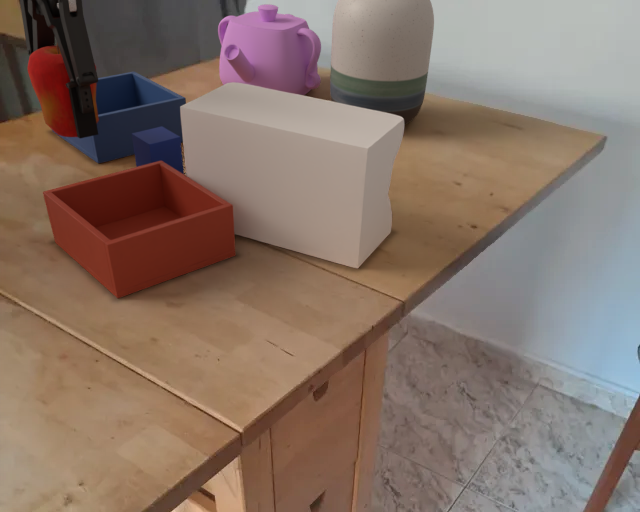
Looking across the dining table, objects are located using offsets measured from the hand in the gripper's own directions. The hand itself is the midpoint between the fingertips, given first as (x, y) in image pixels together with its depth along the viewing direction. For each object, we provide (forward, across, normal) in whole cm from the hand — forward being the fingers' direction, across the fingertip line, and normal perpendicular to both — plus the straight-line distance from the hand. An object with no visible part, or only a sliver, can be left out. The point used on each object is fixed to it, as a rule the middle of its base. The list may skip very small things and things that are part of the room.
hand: (72, 125), depth 95 cm
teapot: (+8, +19, -47) cm, 52 cm away
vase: (+8, -5, -54) cm, 55 cm away
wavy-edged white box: (+8, -27, -19) cm, 34 cm away
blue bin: (+8, +14, -13) cm, 21 cm away
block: (+8, -6, -9) cm, 14 cm away
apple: (+1, 0, 0) cm, 1 cm away
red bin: (+8, -22, +3) cm, 24 cm away
